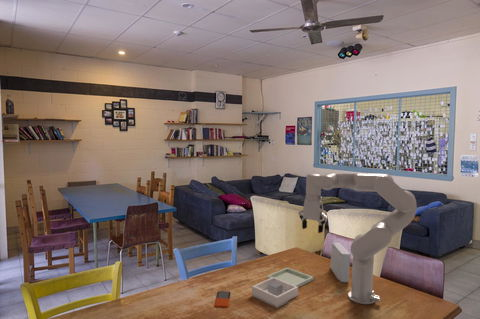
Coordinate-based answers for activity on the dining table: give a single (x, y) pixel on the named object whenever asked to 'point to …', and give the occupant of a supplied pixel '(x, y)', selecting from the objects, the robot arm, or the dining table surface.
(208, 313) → the dining table surface
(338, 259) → the skincare box
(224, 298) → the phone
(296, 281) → the green tray
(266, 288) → the white bin
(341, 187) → the robot arm
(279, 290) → the slate stone block
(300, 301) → the dining table surface
